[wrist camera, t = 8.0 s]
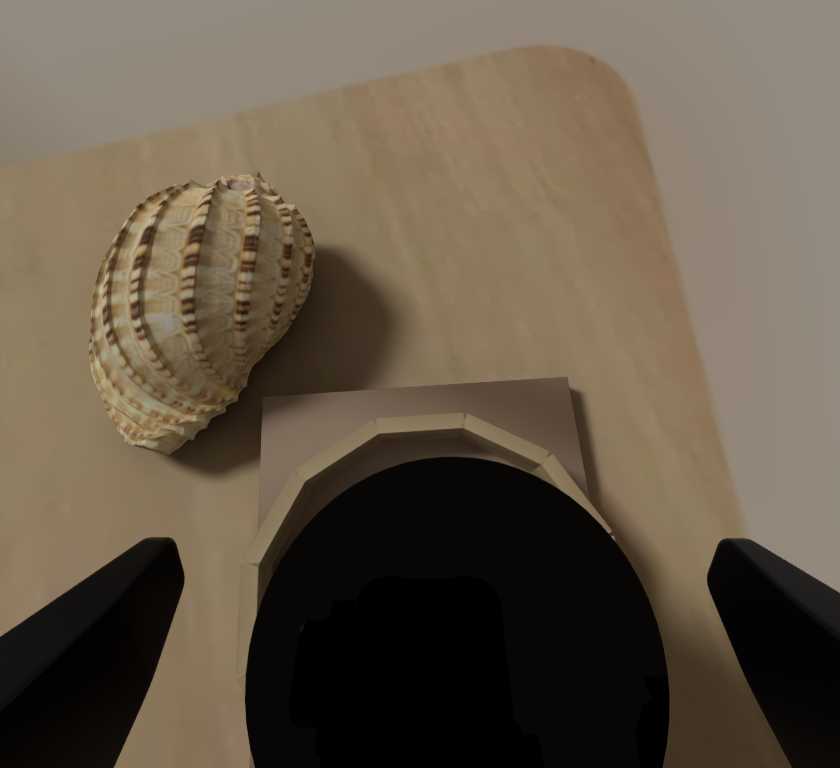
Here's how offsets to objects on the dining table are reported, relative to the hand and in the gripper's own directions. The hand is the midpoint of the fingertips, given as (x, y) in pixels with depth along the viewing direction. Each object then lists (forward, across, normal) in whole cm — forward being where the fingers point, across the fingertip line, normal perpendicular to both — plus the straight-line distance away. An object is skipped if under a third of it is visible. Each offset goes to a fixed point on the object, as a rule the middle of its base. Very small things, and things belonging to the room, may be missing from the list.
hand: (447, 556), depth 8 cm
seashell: (+12, +8, +1) cm, 15 cm away
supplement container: (+5, 0, +7) cm, 8 cm away
